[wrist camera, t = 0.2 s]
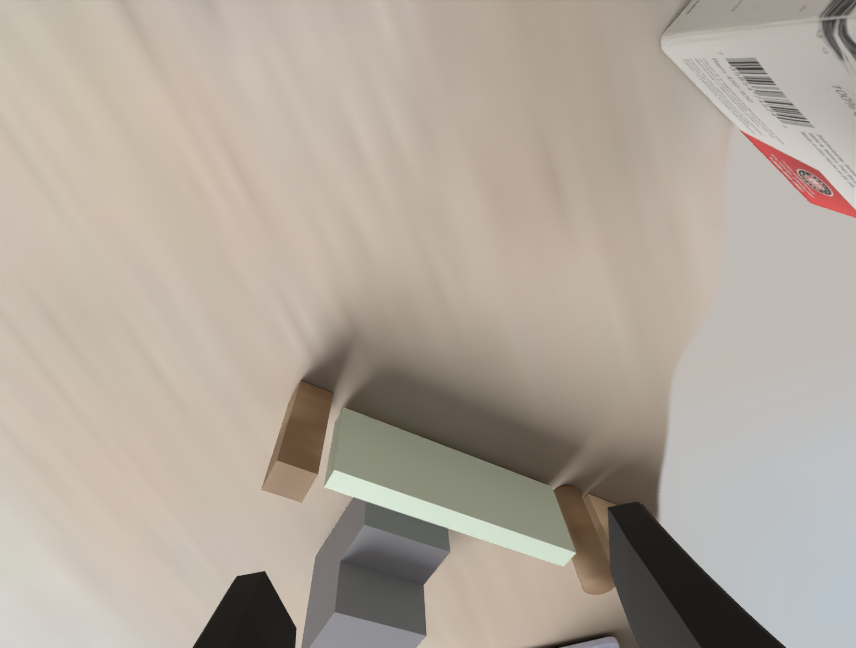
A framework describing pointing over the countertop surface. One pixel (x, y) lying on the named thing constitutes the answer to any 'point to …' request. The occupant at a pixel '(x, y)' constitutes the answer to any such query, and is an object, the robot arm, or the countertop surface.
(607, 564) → the tan small pieces
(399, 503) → the pale green bar
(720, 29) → the ink box
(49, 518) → the countertop surface
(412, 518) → the grey faceted block
